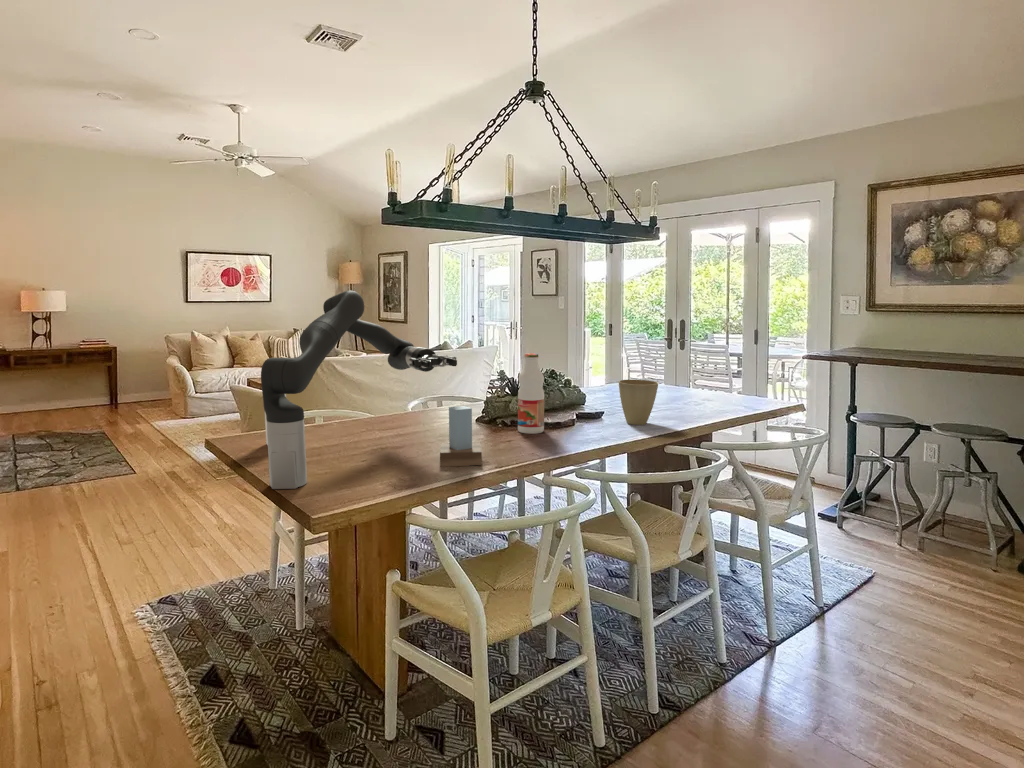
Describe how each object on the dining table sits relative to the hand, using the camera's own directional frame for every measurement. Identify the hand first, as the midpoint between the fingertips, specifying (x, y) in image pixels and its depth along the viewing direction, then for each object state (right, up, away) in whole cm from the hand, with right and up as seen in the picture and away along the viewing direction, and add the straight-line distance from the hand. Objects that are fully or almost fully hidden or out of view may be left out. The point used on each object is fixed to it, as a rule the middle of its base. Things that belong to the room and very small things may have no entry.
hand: (443, 363), depth 203 cm
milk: (-56, -26, +14) cm, 63 cm away
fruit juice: (+28, -23, +35) cm, 51 cm away
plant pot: (+69, -21, +50) cm, 88 cm away
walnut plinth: (+6, -29, -5) cm, 30 cm away
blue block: (+6, -25, -6) cm, 26 cm away
